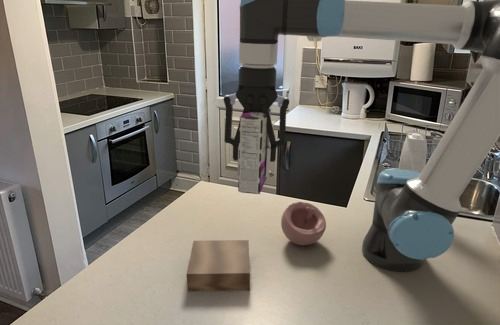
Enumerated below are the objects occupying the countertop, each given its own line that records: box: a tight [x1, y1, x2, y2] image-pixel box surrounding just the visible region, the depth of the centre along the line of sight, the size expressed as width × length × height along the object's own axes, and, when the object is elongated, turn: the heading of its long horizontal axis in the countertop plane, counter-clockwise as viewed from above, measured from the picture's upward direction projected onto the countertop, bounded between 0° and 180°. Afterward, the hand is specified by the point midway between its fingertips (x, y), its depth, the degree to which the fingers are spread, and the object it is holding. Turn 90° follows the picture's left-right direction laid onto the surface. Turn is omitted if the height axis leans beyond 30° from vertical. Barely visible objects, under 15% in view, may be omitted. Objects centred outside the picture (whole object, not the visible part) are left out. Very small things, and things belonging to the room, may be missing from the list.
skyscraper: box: [398, 130, 428, 173], centre depth 119 cm, size 8×8×28 cm
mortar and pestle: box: [280, 201, 327, 246], centre depth 104 cm, size 12×12×11 cm
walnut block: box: [186, 239, 251, 292], centre depth 92 cm, size 14×14×5 cm
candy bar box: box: [237, 106, 272, 195], centre depth 82 cm, size 11×5×16 cm, turn 168°
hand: (253, 174), depth 84 cm, fingers closed on candy bar box, 5 cm apart
